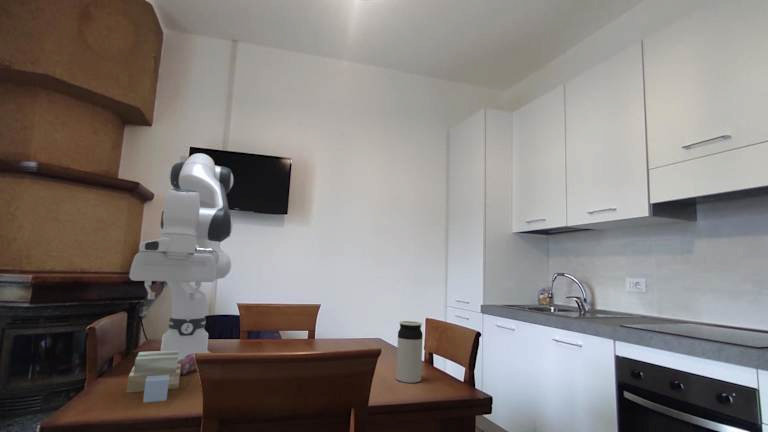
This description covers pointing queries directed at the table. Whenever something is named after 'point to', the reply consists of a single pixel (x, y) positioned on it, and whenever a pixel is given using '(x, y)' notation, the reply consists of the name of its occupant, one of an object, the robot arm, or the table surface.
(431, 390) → the table surface
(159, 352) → the cream stepped block
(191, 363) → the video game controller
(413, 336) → the travel mug
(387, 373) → the table surface
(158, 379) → the slate brick
